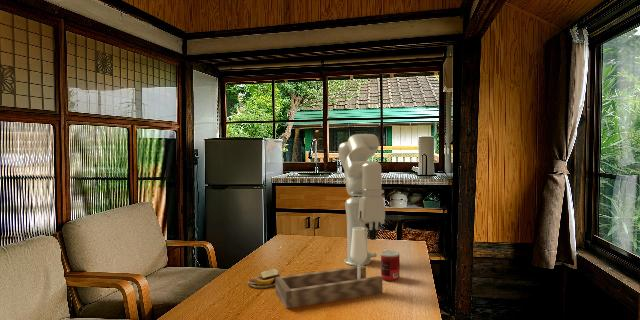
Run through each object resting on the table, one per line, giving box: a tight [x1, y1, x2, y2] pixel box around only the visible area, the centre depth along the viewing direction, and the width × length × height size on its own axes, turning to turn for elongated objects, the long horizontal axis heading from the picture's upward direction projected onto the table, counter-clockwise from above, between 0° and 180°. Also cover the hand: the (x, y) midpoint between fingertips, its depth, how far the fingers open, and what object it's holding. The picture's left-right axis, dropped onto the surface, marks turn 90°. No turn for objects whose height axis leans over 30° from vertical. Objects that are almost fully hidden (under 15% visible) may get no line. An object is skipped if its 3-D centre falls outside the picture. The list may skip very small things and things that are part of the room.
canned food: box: [380, 250, 401, 283], centre depth 166 cm, size 8×8×11 cm
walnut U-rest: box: [275, 265, 383, 310], centre depth 152 cm, size 38×16×6 cm, turn 110°
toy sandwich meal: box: [247, 268, 281, 289], centre depth 163 cm, size 12×14×5 cm
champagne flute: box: [350, 227, 368, 279], centre depth 156 cm, size 7×7×24 cm
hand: (372, 239), depth 157 cm, fingers closed
